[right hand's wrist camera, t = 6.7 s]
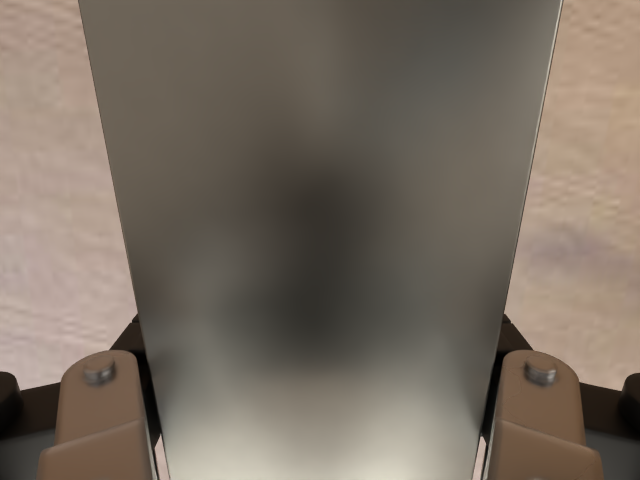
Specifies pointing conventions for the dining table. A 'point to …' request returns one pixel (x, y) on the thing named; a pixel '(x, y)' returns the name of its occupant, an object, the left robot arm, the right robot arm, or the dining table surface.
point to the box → (320, 221)
